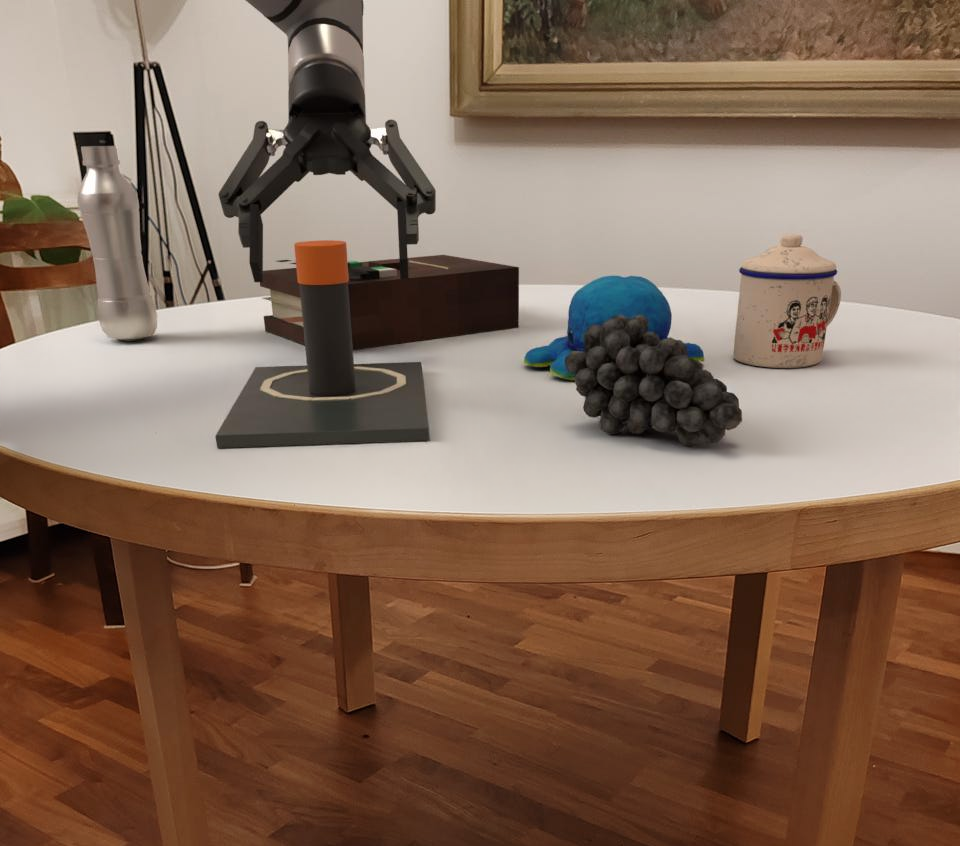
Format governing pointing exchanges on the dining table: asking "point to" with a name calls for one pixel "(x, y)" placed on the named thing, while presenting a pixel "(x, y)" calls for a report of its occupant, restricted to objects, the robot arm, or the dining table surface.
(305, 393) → the slate board
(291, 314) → the decorative book
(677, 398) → the fruit
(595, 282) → the plush toy
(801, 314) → the teacup with lid
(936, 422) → the dining table surface
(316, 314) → the marker
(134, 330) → the metal water bottle
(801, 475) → the dining table surface
